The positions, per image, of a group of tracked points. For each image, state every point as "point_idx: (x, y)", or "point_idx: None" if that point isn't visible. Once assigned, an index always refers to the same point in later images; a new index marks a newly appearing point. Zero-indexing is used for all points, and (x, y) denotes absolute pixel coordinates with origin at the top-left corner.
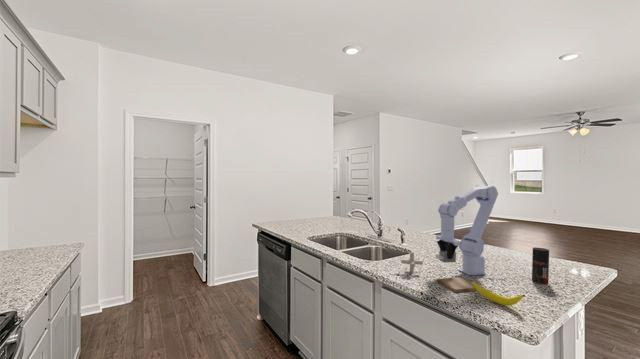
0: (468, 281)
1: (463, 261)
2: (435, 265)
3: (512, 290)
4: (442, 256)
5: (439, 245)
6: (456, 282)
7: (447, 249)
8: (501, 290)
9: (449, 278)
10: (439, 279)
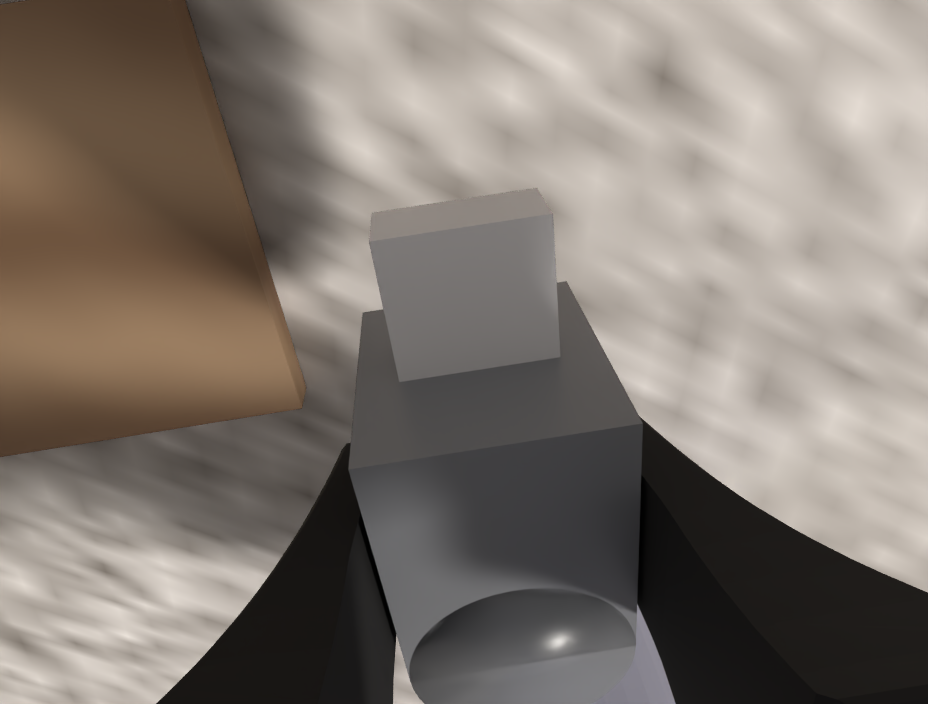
0: (141, 432)
1: None
2: (904, 325)
3: (60, 688)
4: (405, 356)
5: (790, 578)
6: (49, 257)
7: (269, 637)
8: (29, 618)
9: (229, 234)
10: (143, 20)
